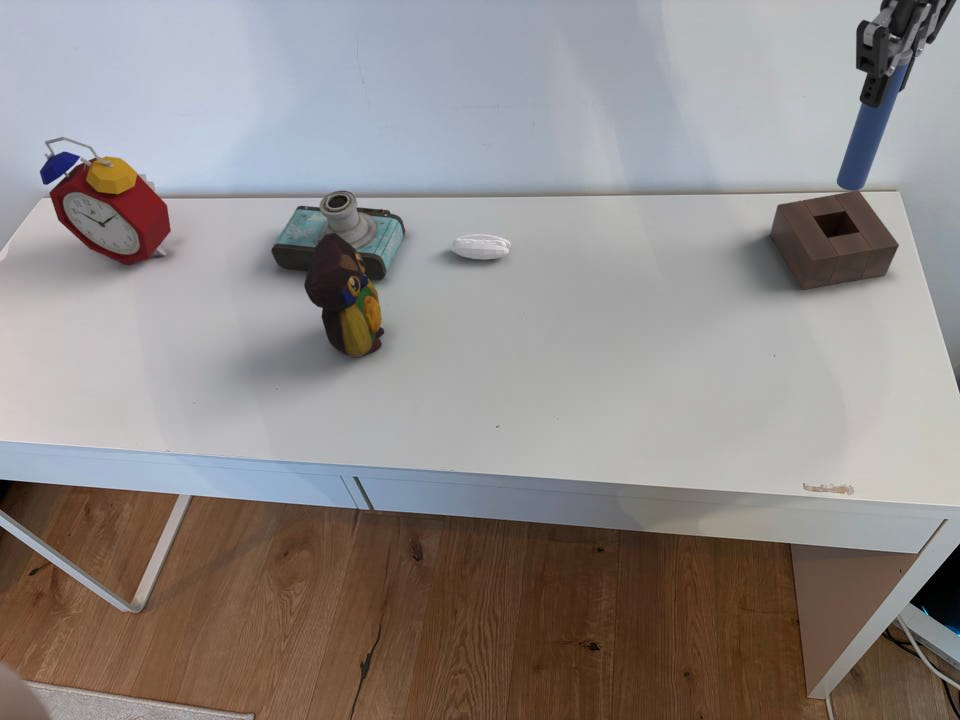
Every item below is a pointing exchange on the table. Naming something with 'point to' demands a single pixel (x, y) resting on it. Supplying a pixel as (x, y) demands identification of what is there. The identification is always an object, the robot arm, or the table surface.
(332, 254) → the figurine
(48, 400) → the table surface
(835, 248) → the holder
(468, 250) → the white oval lump
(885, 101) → the handle
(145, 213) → the alarm clock
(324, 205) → the camera
